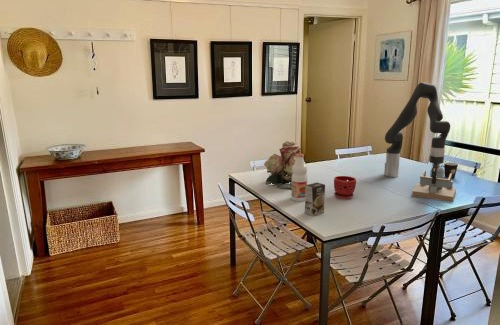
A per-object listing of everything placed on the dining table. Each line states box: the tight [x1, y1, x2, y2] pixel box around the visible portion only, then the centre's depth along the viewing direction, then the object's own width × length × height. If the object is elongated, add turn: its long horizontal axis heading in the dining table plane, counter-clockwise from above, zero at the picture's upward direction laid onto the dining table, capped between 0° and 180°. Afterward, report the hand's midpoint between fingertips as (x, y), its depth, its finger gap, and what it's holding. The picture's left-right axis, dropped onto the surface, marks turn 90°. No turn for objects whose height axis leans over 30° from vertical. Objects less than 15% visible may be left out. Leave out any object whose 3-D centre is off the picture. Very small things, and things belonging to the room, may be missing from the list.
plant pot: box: [333, 175, 357, 200], centre depth 224 cm, size 13×13×12 cm
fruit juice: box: [290, 152, 308, 202], centre depth 219 cm, size 9×9×28 cm
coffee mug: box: [439, 161, 459, 180], centre depth 261 cm, size 12×9×10 cm
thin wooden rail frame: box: [419, 169, 452, 188], centre depth 226 cm, size 16×17×5 cm
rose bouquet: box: [263, 140, 305, 189], centre depth 249 cm, size 26×29×30 cm
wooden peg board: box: [411, 166, 457, 202], centre depth 225 cm, size 22×21×17 cm
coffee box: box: [304, 182, 326, 217], centre depth 198 cm, size 9×6×16 cm
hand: (434, 182), depth 219 cm, fingers open, 5 cm apart
